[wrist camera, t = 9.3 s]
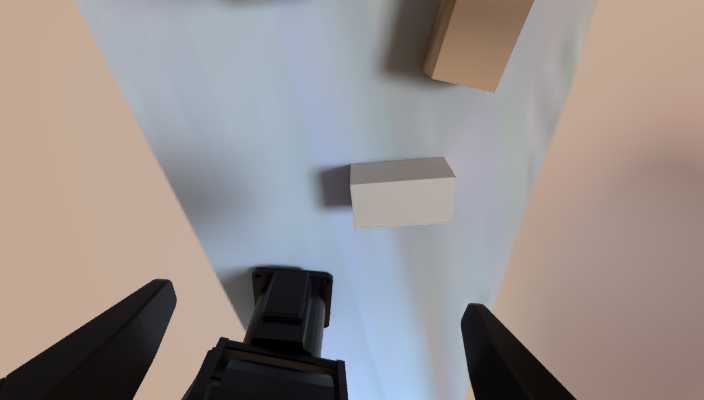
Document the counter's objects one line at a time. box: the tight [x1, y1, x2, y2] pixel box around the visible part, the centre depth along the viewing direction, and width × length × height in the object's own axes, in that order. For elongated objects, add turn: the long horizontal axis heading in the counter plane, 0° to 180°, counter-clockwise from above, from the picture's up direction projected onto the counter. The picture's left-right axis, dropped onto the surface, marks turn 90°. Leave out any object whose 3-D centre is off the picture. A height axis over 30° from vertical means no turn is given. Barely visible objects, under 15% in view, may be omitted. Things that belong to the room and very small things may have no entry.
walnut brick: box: [421, 0, 534, 92], centre depth 15 cm, size 6×3×3 cm, turn 169°
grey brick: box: [350, 157, 456, 229], centre depth 20 cm, size 6×3×3 cm, turn 95°
